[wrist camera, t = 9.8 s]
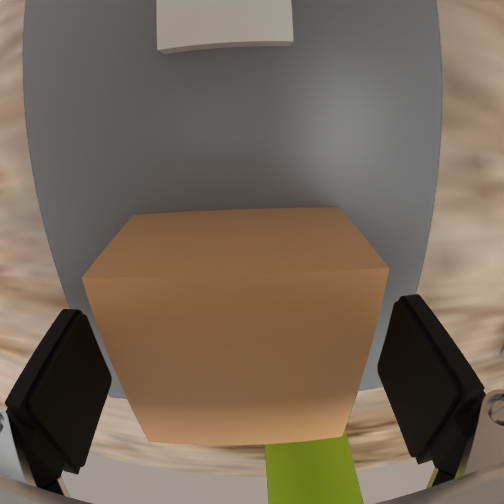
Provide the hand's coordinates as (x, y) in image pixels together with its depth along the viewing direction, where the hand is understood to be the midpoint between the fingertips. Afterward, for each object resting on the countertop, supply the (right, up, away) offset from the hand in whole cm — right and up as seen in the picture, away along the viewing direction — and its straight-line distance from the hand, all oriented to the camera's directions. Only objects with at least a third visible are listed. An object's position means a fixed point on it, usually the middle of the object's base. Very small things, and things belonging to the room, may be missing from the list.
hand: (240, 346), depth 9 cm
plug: (0, +2, +5) cm, 5 cm away
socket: (0, +6, +3) cm, 7 cm away
